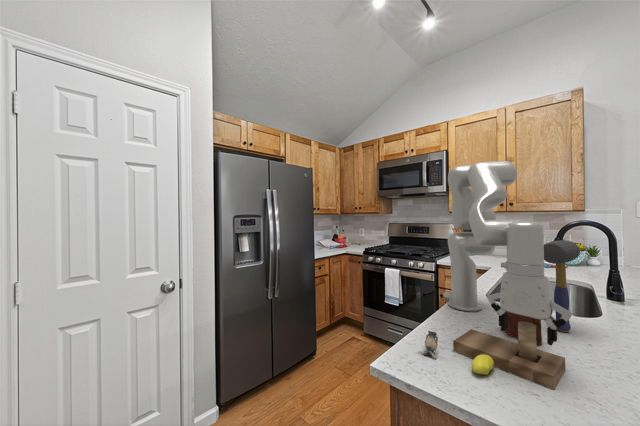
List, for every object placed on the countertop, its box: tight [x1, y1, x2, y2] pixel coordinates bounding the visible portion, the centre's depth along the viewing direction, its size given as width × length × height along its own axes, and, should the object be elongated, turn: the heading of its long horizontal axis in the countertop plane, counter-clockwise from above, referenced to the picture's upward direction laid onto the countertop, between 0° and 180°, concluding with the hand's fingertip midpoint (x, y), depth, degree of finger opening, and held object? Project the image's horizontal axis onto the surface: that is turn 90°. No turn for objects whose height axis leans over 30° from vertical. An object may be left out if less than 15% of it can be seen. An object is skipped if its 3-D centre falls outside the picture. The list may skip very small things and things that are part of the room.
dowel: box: [517, 322, 538, 363], centre depth 67 cm, size 4×4×11 cm
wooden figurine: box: [503, 311, 543, 346], centre depth 83 cm, size 12×6×18 cm, turn 23°
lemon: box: [471, 355, 494, 376], centre depth 66 cm, size 4×8×4 cm, turn 123°
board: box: [452, 328, 566, 391], centre depth 71 cm, size 22×12×3 cm, turn 38°
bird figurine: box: [417, 330, 439, 360], centre depth 75 cm, size 5×5×6 cm
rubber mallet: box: [544, 239, 581, 333], centre depth 87 cm, size 12×8×30 cm, turn 119°
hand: (526, 336), depth 67 cm, fingers open, 9 cm apart
